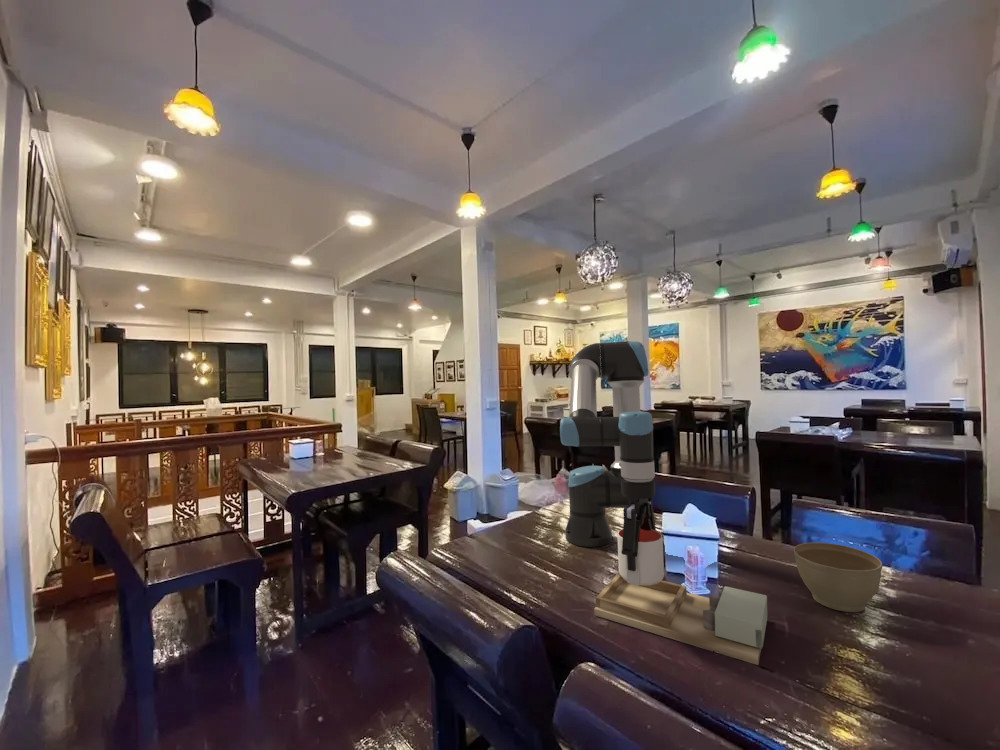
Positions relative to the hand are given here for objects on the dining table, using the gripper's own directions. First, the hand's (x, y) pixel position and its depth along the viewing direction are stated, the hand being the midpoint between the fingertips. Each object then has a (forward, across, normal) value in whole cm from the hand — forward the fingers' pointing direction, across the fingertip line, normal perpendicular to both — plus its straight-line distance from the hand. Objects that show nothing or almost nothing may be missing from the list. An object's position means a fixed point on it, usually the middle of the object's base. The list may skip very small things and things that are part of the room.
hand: (641, 574), depth 101 cm
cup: (+1, 0, 0) cm, 1 cm away
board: (+8, 0, +8) cm, 11 cm away
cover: (+6, 0, +20) cm, 21 cm away
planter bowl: (+8, -25, +37) cm, 45 cm away
